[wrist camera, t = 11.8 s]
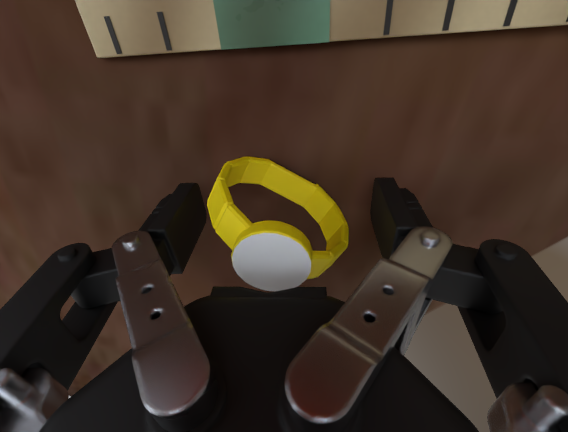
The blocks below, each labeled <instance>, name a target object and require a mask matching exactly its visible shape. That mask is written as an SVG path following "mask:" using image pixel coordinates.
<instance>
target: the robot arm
mask: <svg viewBox="0 0 568 432" xmlns="http://www.w3.org/2000/svg"><path fill="white" fill-rule="evenodd" d="M370 215H371V222H372V225H373V229H374V232H375V235H376V239H377V242H378V245H379V249H380V252H381V255H382V258H381V259H380V260H379V261H378V263H377V264H376V265H375V266H374V267H373V269H372V270H371V271H370V272H369V274H368V275H367V276H366V277H365V279H364V280H363V281H362V282H361V284H360V285H359V286H358V287H357V288H356V290H355V291H354V292H353V293H352V295H351V296H350V297H349V298H348V300H347V301H346V302H343V301H341V300H339V299H336V298H333V297H329V296H327V292H326V287H295V288H290V289H285V290H280V291H276V292H270V293H266V292H261V291H257V290H252V289H248V288H244V287H213V289H212V292H211V295H210V296H206V297H203V298H200V299H198V300H195V301H193V302H191V303H189V304H188V305H186V306H185V307H184V306H183V304H182V302H181V300H180V298H179V296H178V293H177V291H176V289H175V287H174V285H173V283H172V281H171V278H170V275H171V274H182V273H183V271H184V269H185V267H186V264H187V262H188V260H189V258H190V256H191V254H192V251H193V249H194V247H195V245H196V243H197V241H198V238H199V236H200V234H201V232H202V230H203V228H204V225H205V223H206V209H205V206H204V202H203V198H202V195H201V191H200V187H199V185H198V184H197V183H180V184H179V185H178V187H177V188H176V190H175V191H174V192H173V194H169V195H168V196H166V197H165V198H163V199H162V200H161V201H160V202H159V204H158V205H157V206H156V208H155V209H154V210H153V212H152V214H150V216H149V217H148V218H147V220H146V221H145V222H144V224H143V225H142V226H141V228H140V229H139V230H138V231H133V232H130V233H127V234H125V235H123V236H121V237H120V238H118V239H117V240H116V241H115V242H114V243H113V245H112V248H110V249H105V250H101V251H97V252H92V251H91V249H90V247H89V246H88V245H87V244H85V243H75V244H71V245H68V246H65V247H63V248H61V249H59V250H58V251H56V252H55V253H53V254H52V255H51V256H50V257H49V258H48V259H47V260H46V262H45V263H44V264H43V265H42V266H41V267H40V268H39V269H38V270H37V271H36V272H35V273H34V274H33V275H32V276H31V278H30V279H29V280H28V281H27V282H26V283H25V284H24V285H23V286H22V287H21V288H20V289H19V290H18V291H17V292H16V294H15V295H14V296H13V297H12V298H11V299H10V300H9V301H8V302H7V303H6V304H5V305H4V306H3V307H2V308H1V310H0V432H479V431H478V430H477V428H476V427H475V426H474V425H473V424H472V422H471V421H470V420H469V419H468V418H467V417H466V416H465V415H464V414H463V413H462V412H461V411H460V410H459V409H458V408H457V407H456V406H455V405H454V404H453V403H452V402H450V401H449V399H448V398H447V397H446V396H445V395H444V394H442V393H441V392H440V391H439V390H438V389H437V388H436V387H435V386H434V385H433V384H432V383H431V382H430V381H429V380H428V379H427V378H426V377H425V376H424V375H423V374H422V373H421V372H420V371H419V370H418V369H417V368H416V367H415V366H414V365H413V364H412V363H411V362H410V361H409V360H408V359H406V358H405V357H404V355H405V353H406V350H407V348H408V346H409V344H410V341H411V339H412V337H413V335H414V333H415V331H416V329H417V327H418V325H419V324H420V322H421V320H422V318H423V316H424V314H425V312H426V311H427V309H428V307H429V305H430V303H431V301H432V299H433V300H437V301H441V302H444V303H448V304H452V305H456V306H458V308H459V311H460V313H461V315H462V318H463V320H464V323H465V325H466V327H467V330H468V332H469V334H470V337H471V339H472V342H473V344H474V346H475V349H476V351H477V353H478V355H479V358H480V360H481V362H482V365H483V367H484V370H485V372H486V374H487V377H488V379H489V382H490V384H491V386H492V388H493V391H494V393H495V396H496V398H497V400H496V401H495V402H494V403H493V405H492V406H491V407H490V409H489V411H488V416H487V418H488V425H489V429H490V432H568V302H567V301H566V300H565V299H564V297H563V296H562V295H561V293H560V292H559V291H558V290H557V288H556V287H555V286H554V285H553V284H552V282H551V281H550V280H549V278H548V277H547V276H546V275H545V273H544V272H543V271H542V270H541V268H540V267H539V266H538V265H537V263H536V262H535V261H534V260H533V258H532V257H531V256H530V255H529V253H528V252H527V251H525V250H524V249H523V248H521V247H520V246H518V245H516V244H514V243H511V242H508V241H504V240H498V239H491V240H486V241H484V242H483V243H482V244H481V245H480V248H479V249H475V248H470V247H464V246H460V245H456V244H453V243H452V240H451V238H450V237H449V236H448V235H447V234H446V233H444V232H443V231H441V230H439V229H436V228H433V226H432V225H431V223H430V221H429V219H428V218H427V216H426V214H425V212H424V211H423V209H422V207H421V205H420V204H419V203H418V200H417V198H416V197H415V195H414V194H413V193H411V192H410V191H409V190H407V189H406V188H400V189H399V187H398V185H397V184H396V182H395V180H394V178H375V180H374V185H373V193H372V201H371V210H370ZM70 295H71V296H72V297H73V299H74V300H75V301H76V302H75V303H74V305H73V306H72V307H71V309H70V310H69V312H68V313H67V314H66V316H65V317H64V319H63V320H62V321H61V319H60V311H61V308H62V306H63V305H64V303H65V302H66V301H67V299H68V298H69V297H70ZM118 301H121V305H122V309H123V313H124V317H125V321H126V325H127V329H128V333H129V337H130V341H131V346H132V348H131V349H130V350H129V351H128V352H126V353H125V354H124V355H123V356H121V357H120V358H119V359H118V360H116V361H115V362H114V363H113V364H111V365H110V366H109V367H108V368H106V369H105V370H104V371H103V372H101V373H100V374H99V375H98V376H96V377H95V378H94V379H93V380H91V381H90V382H89V383H88V384H86V385H85V386H84V387H83V388H81V389H80V390H79V391H78V392H76V393H75V394H74V395H73V396H71V397H70V398H69V399H68V397H69V395H68V389H69V387H70V385H71V384H72V382H73V380H74V378H75V377H76V375H77V373H78V371H79V369H80V368H81V366H82V364H83V362H84V361H85V359H86V357H87V355H88V354H89V352H90V350H91V348H92V346H93V345H94V343H95V341H96V339H97V338H98V336H99V334H100V332H101V330H102V329H103V327H104V325H105V323H106V322H107V320H108V318H109V316H110V315H111V313H112V311H113V309H114V307H115V306H116V304H117V302H118Z"/></svg>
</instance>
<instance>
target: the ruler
mask: <svg viewBox="0 0 568 432" xmlns="http://www.w3.org/2000/svg"><path fill="white" fill-rule="evenodd" d="M75 2H76V5H77V7H78V10H79V12H80V15H81V17H82V20H83V23H84V25H85V28H86V30H87V33H88V35H89V38H90V40H91V43H92V45H93V48H94V51H95V53H96V56H97V57H98V58H109V57H123V56H137V55H151V54H165V53H179V52H193V51H207V50H227V49H241V48H255V47H269V46H283V45H297V44H311V43H325V42H334V41H348V40H362V39H376V38H390V37H404V36H419V35H433V34H447V33H461V32H475V31H489V30H503V29H517V28H531V27H545V26H559V25H568V0H75Z"/></svg>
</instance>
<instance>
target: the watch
mask: <svg viewBox="0 0 568 432" xmlns="http://www.w3.org/2000/svg"><path fill="white" fill-rule="evenodd" d="M237 183H250V184H260V185H262V186H264V187H266V188H268V189H270V190H272V191H274V192H276V193H278V194H280V195H281V196H283V197H285V198H287V199H289V200H291V201H293V202H295V203H297V204H299V205H301V206H302V207H304V208H305V209H306V210H307V211H308V213H309V214H310V215H311V216H312V217H313V218H314V219H315V220H316V222H317V223H318V224H319V225H320V228H321V230H322V232H323V234H324V237H325V239H326V241H327V246H326V251H312V247H311V244H310V241H309V240H308V239H307V237H306V236H305V235H304V234H303V233H302V232H301V231H300V230H298V229H297V228H295V227H294V226H292V225H290V224H287V223H284V222H280V221H269V220H266V221H261V222H256V223H252V222H251V221H250V220H249V219H248V218H247V217H246V216H245V215H244V214H243V213H242V212H241V211H240V210H239V209H238V208H237V207H236V206H235V205H234V203H233V200H232V197H231V194H230V191H229V189H228V187H230V186H232V185H235V184H237ZM318 186H319V185H318V184H316V185H315V184H313V183H311V182H309V181H308V180H306V179H304V178H302V177H300V176H298V175H297V174H295V173H293V172H291V171H289V170H287V169H285V168H284V167H282V166H280V165H278V164H276V163H274V162H273V161H271V160H270V159H264V158H256V157H249V156H248V157H242V158H238V159H235V160H232V161H228V162H226V163H225V164H224V166H223V167H222V169H221V171H220V173H219V175H218V177H217V179H216V182H215V184H214V186H213V189H212V191H211V193H210V196H209V198H208V200H207V202H208V203H207V207H208V211H209V215H210V218H211V222H212V226H213V228H214V229H216V231H215V232H216V233H217V234H218V235H219V236H220V237H221V238H222V240H223V241H224V242H225V243H226V244H227V245H228V246H229V247H230V248H231V250H232V253H231V258H232V265H233V267H234V269H235V271H236V273H237V274H238V276H239V277H241V278H242V279H243V280H244V281H245V282H246V283H248V284H250V285H252V286H253V287H255V288H259V289H262V290H266V291H280V290H285V289H290V288H295V287H297V286H299V285H300V284H302V283H303V282H304V281H305V280H306V279H314V278H315V277H318V276H319V275H320V274H322V273H323V272H324V271H325V270H326V269H328V268H329V267H330V266H331V265H332V264H333V263H334V262H335V261H336V259H337V258H338V257H339V256H340V255H341V254H342V253H343V252H344V251H345V249H346V248H347V246H348V240H349V227H348V224H347V222H346V220H345V218H344V216H343V214H342V212H341V210H340V208H339V207H338V206H337V205H336V203H335V202H334V200H333V199H332V198H331V197H330V196H329V195H328V194H327V193H326V192H325V191H324V190H323V189H322V188H321V187H318Z"/></svg>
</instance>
